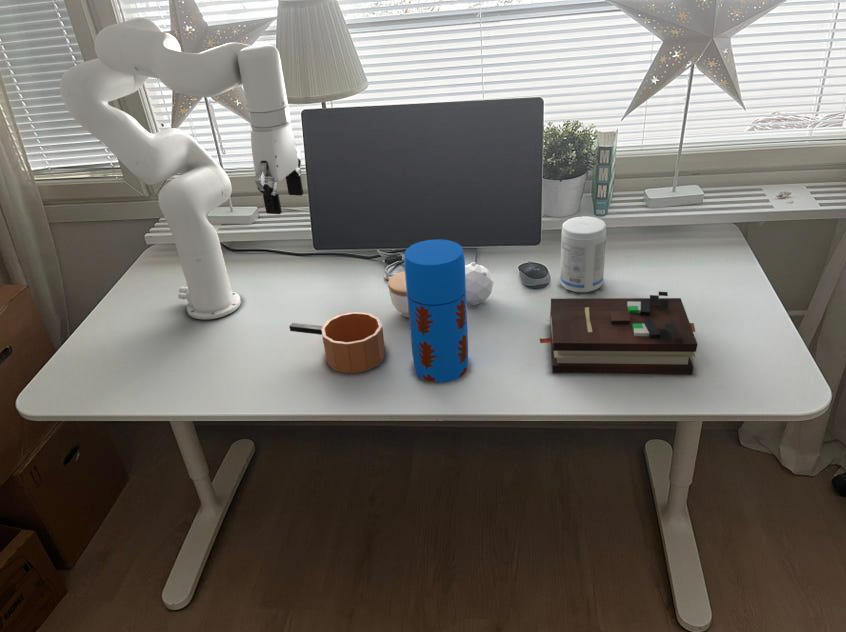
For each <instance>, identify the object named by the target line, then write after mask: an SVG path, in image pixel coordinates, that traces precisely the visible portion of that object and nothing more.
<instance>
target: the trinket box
mask: <svg viewBox="0 0 846 632" xmlns="http://www.w3.org/2000/svg"><path fill="white" fill-rule="evenodd" d="M387 287H388V292H389V297H390V300H391V303H392V305H393V307H394V308H395V310H396V311H398V312H399V313H400V314H401V315H402V316H403V317H405V318H408V319H409V311H408V300H407V289H406V278H405V270H402V271H400V272H396V273H395V274H393V275H392V276H391V277H390V278H389V279H388V281H387Z"/></svg>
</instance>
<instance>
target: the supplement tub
mask: <svg viewBox="0 0 846 632" xmlns="http://www.w3.org/2000/svg"><path fill="white" fill-rule="evenodd" d="M560 241H561V242H560V275H559V276H560V284H561V286H562V287H563V288H564V289H566V290H567V291H570V292H573V293H574V292H575V293H590V292H593V291H595V290H598V289H599V288H601V286H602V285H603V284H604V274H605V273H604V272H605V258H606V242H607V224H606V222H605V221H604V220H602V219H600V218H599V217H595V216H576V217H572V218H569V219H567V220H565V221H563V223H562V228H561V240H560Z"/></svg>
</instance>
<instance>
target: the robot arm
mask: <svg viewBox="0 0 846 632" xmlns="http://www.w3.org/2000/svg"><path fill="white" fill-rule="evenodd" d="M94 52H95V54H96V56H97V58H93V59H90V60H86V61H84V62H81V63H77V64H76V65H73V66H72V67H70V68H68V69H67V70H65V72H64V73H63V74H62V76H61V78H60V81H59V91H60V95H61V100H62V102H63V103H64V105H65V108H66V109H67V112H68V113H69V114H70V116H71V117H72V118H73V119H74V120H75V122H77V124H79V125H80V126H81V127H82V128H83V129H84V130H86V131H87V132H88V133H89V134H90V135H92V136H94V137H95V138H96V139H97V140H99V142H101V143H102V144H103V145H104V146H105V147H106V148H107V149H108V150H109V151H110V152H111V153H112V154H113V156H114V157H116V158H117V159H118V160H119V161H120V162H121V163H122V164H123V165H124V166H125V167H126V168H127V169H128V170H129V172H131V173H132V174H133V176H135V177H136V178H137V179H138V180H139V181H140V182H142V183H143V184H145V185H149V186H155V185H157V184H160V183H163V182H164V181H166V180H168V179H170V178H172V177H174V176H176V175H178V174H180V175H179V176H176V177H175V178H173V179H171V180H169V181H168V182H167V183H166V184H164V185H163V186H162V188H161V189H160V190H159V193H158V196H157V197H158V198H157V199H158V206H159V209H160V211H161V214H162V215H163V217H164V220H165V221H166V223H167V225H168V228H169V231H170V233H171V235H172V238H173V241H174V244H175V248H176V252H177V255H178V258H179V261H180V266H181V269H182V273H183V276H184V280H185V284H186V286H183V285H182V286H180V287H179V289H178V294H177V297H178V299H180V300H181V299H182V300H186V301H187V305H186V312H187V314H188V316H189V317H191V318H193V319H197V320H204V321H205V320H214V319H219V318H223V317H225V316H228V315H229V314H232V313H233V312H235V311H236V310H237V309H238V308H239V307H240V306H241V303H242V300H241V295H239V293H237V292H235V291H233V290H232V286H231V282H230V278H229V274H228V271H227V267H226V263H225V258H224V255H223V251H222V246H221V242H220V238H219V235H218V232H217V230H216V228H215V227H214V226H213V225H212V224H211V222H210V221H208V219H207V215H208V214H209V213H211V212H212V211H213V210H215V209H216V208H218V207H220V206H221V205H223V204H225V203H226V202H227V201H228V200H229V198H230V197H231V196H232V190H233V188H232V182H231V180H230V177H229V176H228V174H227V172H226V171H225V170H224V169H223V168H222V166H221V165H220V164H219V163H218V162H217V161H216V159H214V158H213V157H212V156H211V155H210V154H209V152H208V151H206V149H204V148H203V147H202V145H200V143H198V142H197V141H196V139H195V138H193V137H192V135H190V134H189V133H188V132H185V131H184V130H182V129H181V128H177V127H168V128H165V129H161V130H159V131H157V132H155V133H152V132H149V131H148V130H147V129H145V127H143V126H142V125H141V124H140V123H139V122H138V121H137V119H136V118H135V117H133V116H132V115H130V114H129V113H127V112H125V111H123V110H121V109H119V108H117V107H114V106H112V105H110V104H109V103H110V102H112V101H115V100H118V99H121V98H123V97H127V96H130V95H132V94H134V93H136V92H137V91H138V90H140V89H141V88H142V86H143V85H144V84H145V83H146V82H147V80H148V79H149V78H152V79H158V80H159V81H160V82H161V83H162V84H163V85H164V86H165V87H167V88H168V89H169V90H171V91H172V92H175V93H178V94H182V95H187V96H193V97H198V98H212V97H217V96H219V95H221V94H223V93H226V92H229V91H230V90H233V89H237V88H239V87H242V88H243V94H244V99H245V103H246V104H245V105H246V108H247V113H248V114H247V115H248V118H249V124H250V128H251V130H250V145H251V155H252V161H253V168H254V174H255V175H254V178H253V182H254V184H255V185H256V186H257V190H258V191H259V192H260V195H261V196H262V198H263V204H264V207H265V213H266V214H269V215H281V214H282V213H283V210H282V206H281V200H280V195H279V193H277V190H278V184H279V182H281V181H282V180H284V179H285V182H286V187H287V193H288V195H289V196H299V197H300V196H301V197H302V196H303V195H304V188H303V183H302V177H301V175H302V170H301V164H302V162H301V149H300V148H298V147H297V144H296V140H295V135H294V131H293V127H292V125H291V124H292V121H291V115H290V109H289V103H288V97H287V90H286V85H285V80H284V73H283V67H282V61H281V56H280V52H279V50H278V48H277V47H276V46H274V45H271V44H256V45H250V44H246V43H241V42H235V41H233V42H228V43H227V42H226V43H224V44H221V45H217V46H215V47H212V48H209V49H206V50H203V51H201V52H186V51H182V49H181V45H180V43H179V41H178V40H177V38H176V37H175V36H174V35H172V34H171V33H169V32H166V31H163V30H162V28H161V27H160V26H159V25H158V24H157V23H155V22H154V21H153V20H150V19H148V18H145V17H143V18H142V17H140V18H139V17H137V18H133V19H128V20H125V21H122V22H117V23H114V24H110V25H107V26H105V27H103V28H102V29H101V30H100V31H99V32H98V33H97V34H96V37H95V39H94ZM268 184H271V186H270V185H268Z"/></svg>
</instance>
